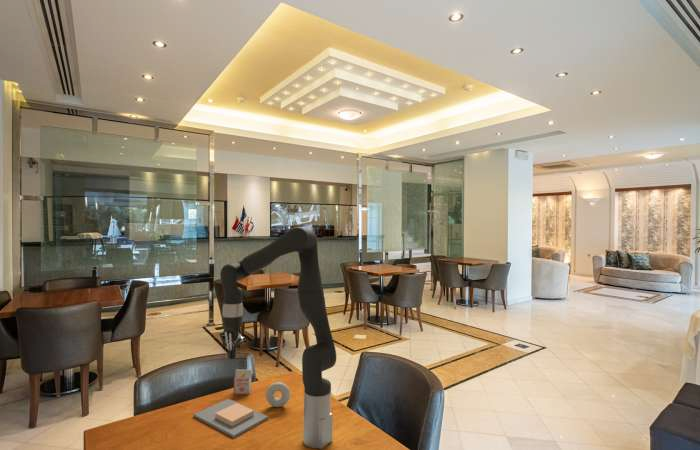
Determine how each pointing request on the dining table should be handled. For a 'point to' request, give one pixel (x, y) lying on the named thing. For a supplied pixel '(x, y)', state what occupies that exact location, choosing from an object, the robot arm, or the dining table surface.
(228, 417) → the tile
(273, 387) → the donut
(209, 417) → the board
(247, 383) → the white printed carton
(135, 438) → the dining table surface
